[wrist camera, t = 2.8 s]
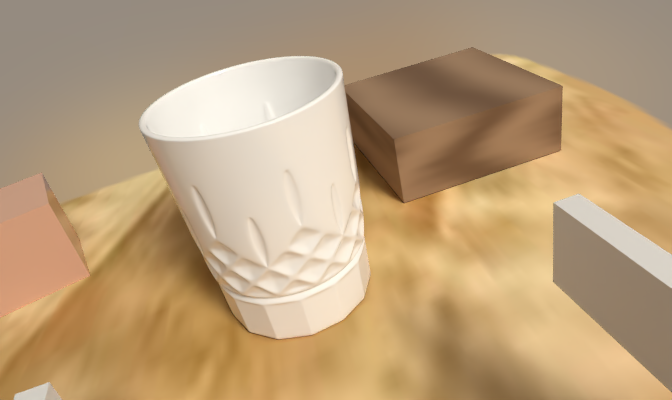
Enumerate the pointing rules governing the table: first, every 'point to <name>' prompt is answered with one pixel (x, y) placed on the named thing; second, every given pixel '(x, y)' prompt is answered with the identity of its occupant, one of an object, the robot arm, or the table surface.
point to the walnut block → (453, 120)
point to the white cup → (268, 189)
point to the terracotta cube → (35, 245)
